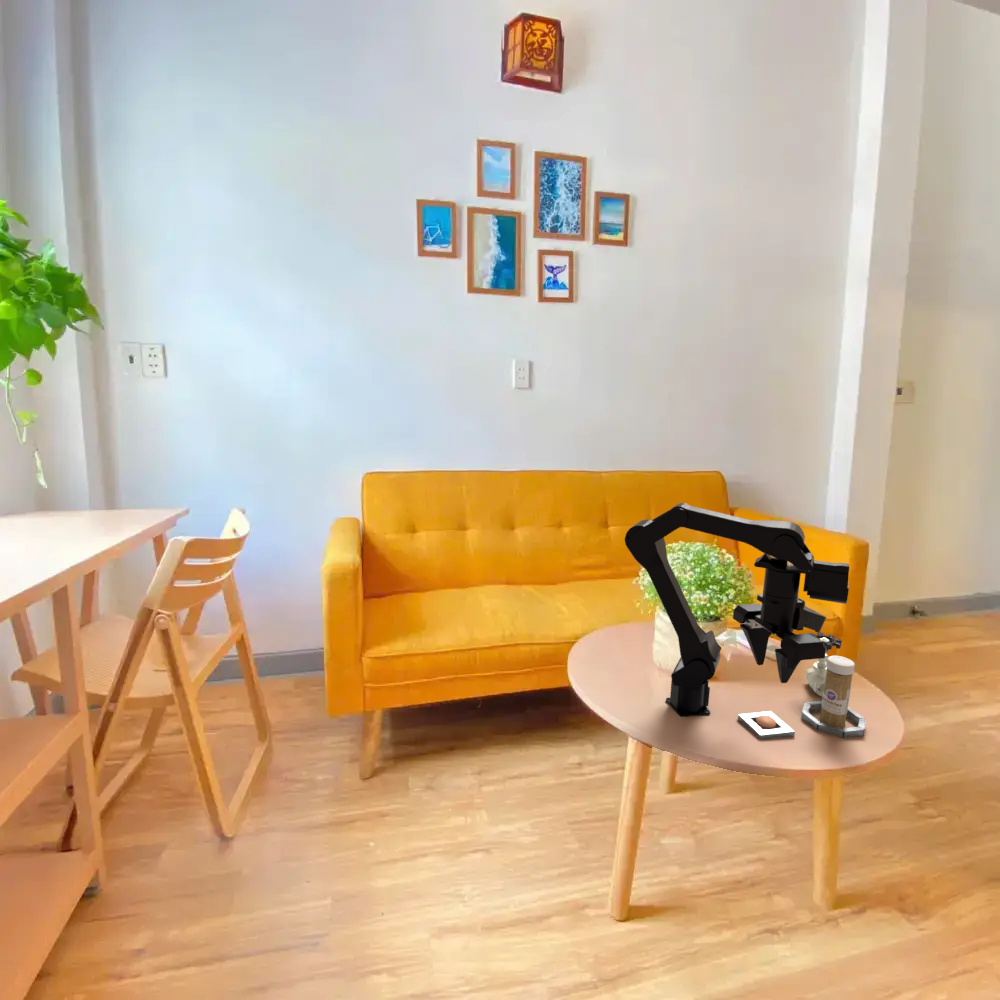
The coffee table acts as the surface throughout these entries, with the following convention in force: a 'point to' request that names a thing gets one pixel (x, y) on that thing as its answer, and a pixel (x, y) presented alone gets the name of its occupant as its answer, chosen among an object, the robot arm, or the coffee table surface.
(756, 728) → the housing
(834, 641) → the valve
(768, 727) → the plunger
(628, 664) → the coffee table surface
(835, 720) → the sprinkles bottle
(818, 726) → the socket ring
